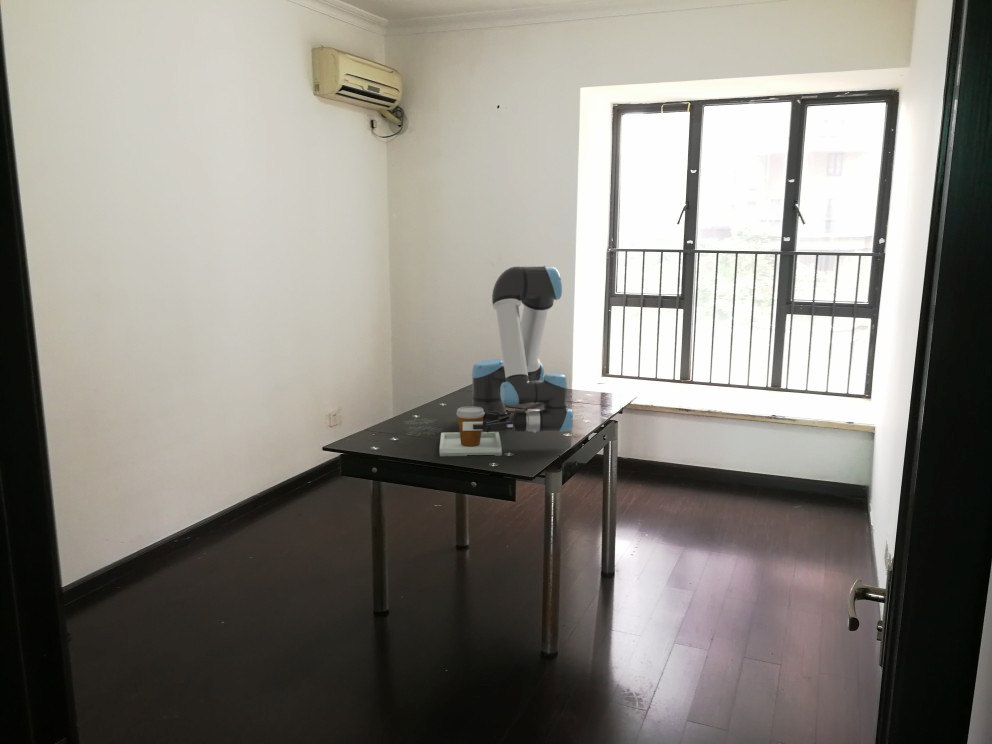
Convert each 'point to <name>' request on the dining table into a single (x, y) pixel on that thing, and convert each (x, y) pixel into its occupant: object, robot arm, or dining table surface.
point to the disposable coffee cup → (470, 416)
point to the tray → (453, 447)
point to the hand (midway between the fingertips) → (462, 421)
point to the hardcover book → (522, 406)
